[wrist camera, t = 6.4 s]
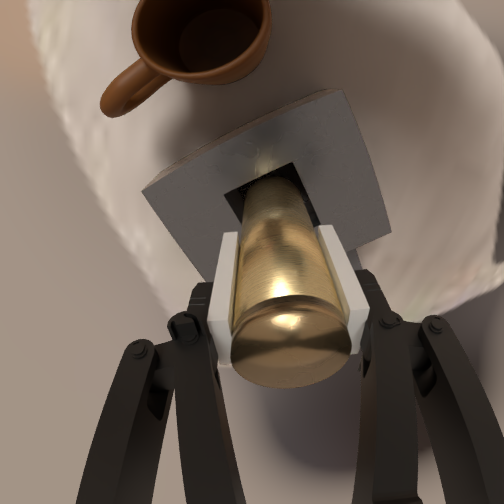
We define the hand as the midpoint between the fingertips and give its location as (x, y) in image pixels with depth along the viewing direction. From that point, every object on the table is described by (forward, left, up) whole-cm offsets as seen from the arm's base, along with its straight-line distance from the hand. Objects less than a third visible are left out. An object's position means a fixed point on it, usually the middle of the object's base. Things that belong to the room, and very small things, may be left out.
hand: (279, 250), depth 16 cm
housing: (0, 0, -11) cm, 11 cm away
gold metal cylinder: (0, 0, -7) cm, 7 cm away
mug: (-13, 0, -11) cm, 17 cm away
